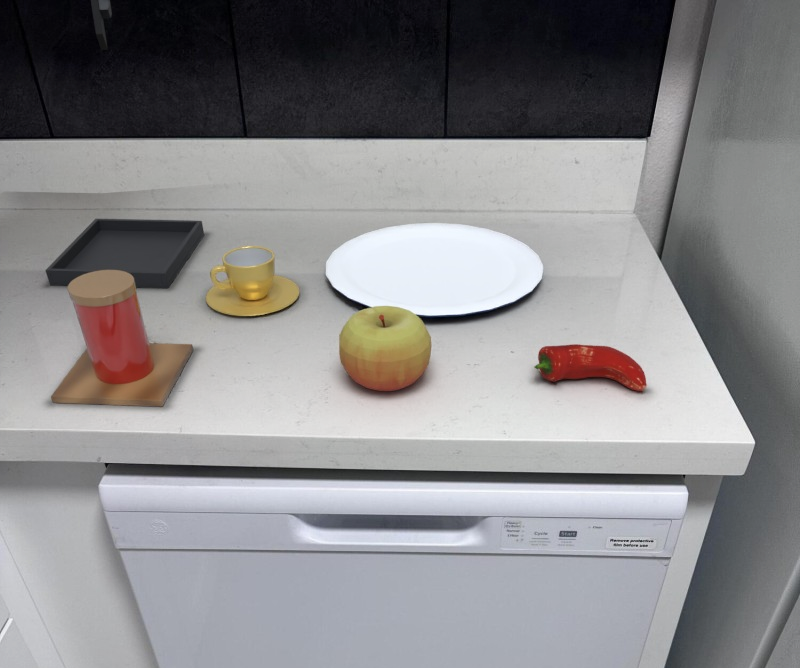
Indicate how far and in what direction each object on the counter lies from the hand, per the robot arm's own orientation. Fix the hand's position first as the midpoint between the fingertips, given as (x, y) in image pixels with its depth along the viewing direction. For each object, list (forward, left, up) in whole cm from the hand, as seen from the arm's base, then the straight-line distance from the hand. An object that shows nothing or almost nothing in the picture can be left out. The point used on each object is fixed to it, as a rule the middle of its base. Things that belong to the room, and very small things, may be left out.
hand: (41, 45), depth 91 cm
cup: (+23, -7, -27) cm, 36 cm away
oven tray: (+3, +4, -27) cm, 27 cm away
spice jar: (+13, -27, -26) cm, 40 cm away
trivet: (+13, -27, -27) cm, 40 cm away
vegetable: (+64, -25, -27) cm, 74 cm away
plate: (+46, +1, -27) cm, 53 cm away
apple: (+42, -26, -27) cm, 56 cm away
